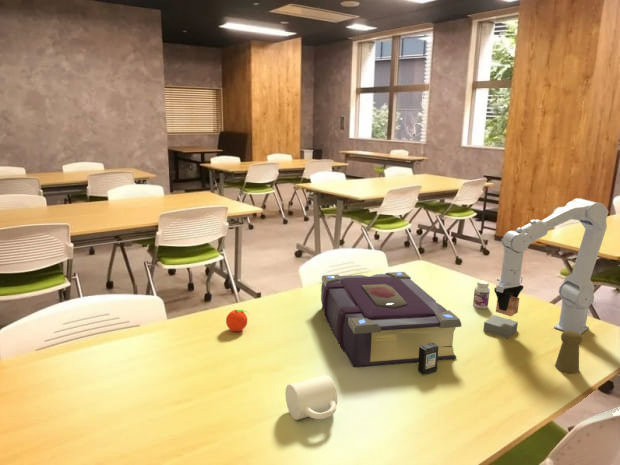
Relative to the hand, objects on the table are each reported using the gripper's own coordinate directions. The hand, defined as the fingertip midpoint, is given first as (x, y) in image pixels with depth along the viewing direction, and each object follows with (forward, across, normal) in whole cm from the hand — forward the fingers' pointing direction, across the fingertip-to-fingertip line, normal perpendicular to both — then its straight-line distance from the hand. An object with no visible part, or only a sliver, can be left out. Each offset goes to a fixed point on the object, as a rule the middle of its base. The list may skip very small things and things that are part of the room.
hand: (506, 307), depth 152 cm
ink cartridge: (+9, +41, -2) cm, 42 cm away
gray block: (+9, 0, -1) cm, 9 cm away
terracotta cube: (+2, 0, 0) cm, 2 cm away
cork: (+9, +9, +23) cm, 26 cm away
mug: (+9, +78, -8) cm, 79 cm away
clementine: (+9, +66, -58) cm, 89 cm away
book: (+9, +31, -28) cm, 43 cm away
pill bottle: (+9, -15, -16) cm, 23 cm away
